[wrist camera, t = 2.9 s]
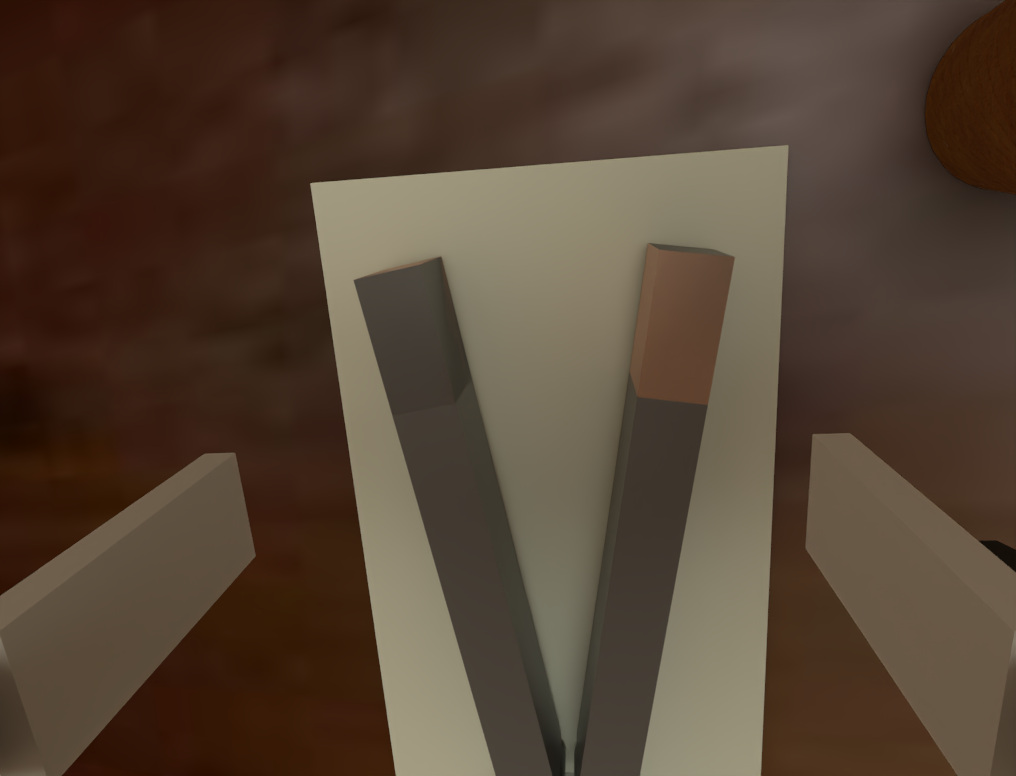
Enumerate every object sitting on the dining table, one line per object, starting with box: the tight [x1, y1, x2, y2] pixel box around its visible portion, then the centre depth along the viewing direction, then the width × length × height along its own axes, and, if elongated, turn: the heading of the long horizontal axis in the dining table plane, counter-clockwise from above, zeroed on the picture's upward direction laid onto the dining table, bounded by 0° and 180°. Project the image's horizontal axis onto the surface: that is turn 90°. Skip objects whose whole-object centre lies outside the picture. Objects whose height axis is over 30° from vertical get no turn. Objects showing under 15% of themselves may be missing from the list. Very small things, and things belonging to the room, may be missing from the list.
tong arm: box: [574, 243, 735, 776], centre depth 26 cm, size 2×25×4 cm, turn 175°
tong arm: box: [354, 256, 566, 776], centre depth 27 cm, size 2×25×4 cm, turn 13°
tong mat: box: [310, 145, 788, 776], centre depth 29 cm, size 18×32×1 cm, turn 4°
